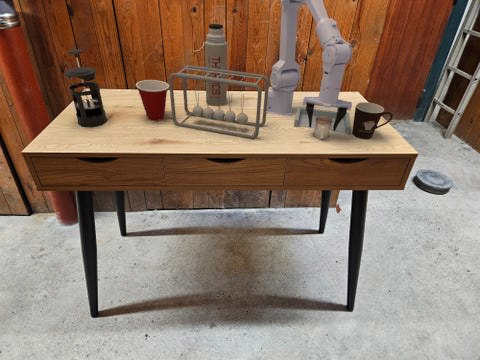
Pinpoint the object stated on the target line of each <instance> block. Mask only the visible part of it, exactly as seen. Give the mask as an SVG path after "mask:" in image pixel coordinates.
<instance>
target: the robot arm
mask: <svg viewBox="0 0 480 360" xmlns="http://www.w3.org/2000/svg"><path fill="white" fill-rule="evenodd" d="M304 4H305V5H306V6H307V8H308V10H309V13H310V14H311V15H312V17H313V19H314V21H315V23H316V27H315V33H316V36H317V39H318V41H319V43H320V46H321V48H322V50H323V51H322V52H321V60H322V71H323V72H322V77H321V82H320V83H321V84H320V88H319V93H318V94H319V95H318V96H303V101H302V105H303V106H305V108H306V111H307V114H308V118H309V127H311V125H312V116H313V111H314V109H315V106H318V107H324V108H334V109H337V110H336V112H337V115H336V119H335V122H334V126H333V131H332V132H336V131H335V130H336V128H337V126H338V124H339V122H340V121H341V120H342V118H343V117H344V116H345V115H346V113H347V112H348V111H352V107H353V102H352V101H347V100H343V99H339V95H340V91H341V86H342V84H343V83H342V82H343V78H344V73H345V69H346V64H348V63H350V61H351V60H352V58H353V54H354V51H353V47H352V44H351V43H350V42H347V41H346V39H344V38H343V36H342V35H341V32H340V30H339V28H338V24H337V23H338V22H337V21H336V20H335V19H333V18H329V16H328V12H327V10H326V7H325V4H324V1H323V0H280V5H281V12H280V13H281V14H280V15H281V17H280V40H279V60H278V61H276V62H275V63H274V64H273V65H272V67H271V73H270V77H269V84H270V85H271V86H269V90H268V101H267V112H266V114H272V115H278V116H279V115H280V116H286V117H291V116H292V114H293V110H294V107H293V101H294V100H293V99H294V93H295V90H296V89H297V86H299V85H300V83H301V79H302V76H301V71H300V70H301V65H299V63H298V62H297V61H296V47H297V34H298V33H297V32H298V19H299V18H298V16H299V10H300V8H301V7H302V6H303V5H304Z"/></svg>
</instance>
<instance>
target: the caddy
mask: <svg viewBox="0 0 480 360" xmlns="http://www.w3.org/2000/svg"><path fill="white" fill-rule="evenodd" d="M336 115H337V111H336V110H335V111H333V110H325V109H317V108H314V111H313V116H312V125H311V127H309V118H308V114H307V111H306V107H303V106H297V108H296V113H295V118H294V122H293V127H294V128H298V127H301V128H307V129H308V128H309V129H314V130H315V125H316V117H318V116H328V117H330V118H332V120H333V121H332V123H331V127H330V132H336V133H344V134H345V135H346V134H347V135H349V134H350V132H351V119H350V112H348V111H347V113H346V115H345V116H344V117H343V118H342V120H341V121H340V122H339V124H338V126H337V128H336V130H335V131H333V126H334V122H335V119H336Z"/></svg>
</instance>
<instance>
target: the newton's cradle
mask: <svg viewBox="0 0 480 360" xmlns="http://www.w3.org/2000/svg"><path fill="white" fill-rule="evenodd" d="M187 70H190V71H196V72H195V73H194V74H193V73H192V74H190V73H186V71H187ZM201 72H205V73H206V72H210V77H206V76H207V75H208V74H207V75H206V74H205V75H200V73H201ZM197 73H199V74H197ZM211 73H219V74H226V75H227V76H228V75H229V76H232V77H235V76H236V77H241V78H242V77H243V78H242V79H241V80H234V79H230V78H227V79H222V76H221V78H218V77H219V76H220V75H219V76H218V77H217V78H213V77H211ZM174 78H182V89H183V92H182V93H183V103H184V106H183V107H184V111H185V113H186V114H187V116H186V117H185V118H184V119H183V120H182V121H181V122H179V121H178V120H177V116H176V104H175V95H174V82H173V79H174ZM246 78H249V79H257V81H256V82H250V81H249V82H248V81H246V80H245V79H246ZM187 79H188V80H193V86H194V87H196V84H195V80H196V81H202V82H204V85H205V87H206V81H208V82H215V83H222V84H227V91H230V87H229V86H231V90H234V89H233V86H239V89H240V91H242V87H243V89H245V88H251V89H256V90H257V103H256V116H255V117H256V119H255V122H251V121H249V116H248V114H247V113H244V110H243V104H244V103H245V102H244V101H245V95H242V97H243V98H240V105H241V106H240V107H241V109H240V110H241V112H239V113H238V114H237V115H236V113H235V112H234V111H232V107H231V103H232V101H233V99H232V98H233V95H231V97H230V99H228V101H229V102H228V104H229V105H228V107H229V110H228V111H226V112H225V111H224V110H223V109H221V106H219V102H218V106H217V107H218V109H215V110H214V109H213V108H212V107H210V106H209V104H208V100H207V102H206V105H207V107H206V108H203V106H201V105H199V104H200V102H199V101H200V93H198V95H197V96H198V98H197V96H195V100H196V102H197V104H196V106H194V107H193V108H192V111H190V110H189V108H188V93H187V92H188V91H187ZM243 79H244V81H242V80H243ZM261 79H262V80H263V81H264V83H265V86H264V97H263V98H264V99H263V109H262V110H261V107H262V96H263V94H262V93H263V92H262V91H263V90H262V88H261V87H260V85H258V83H259V82H260V81H261ZM168 84H169V95H170V104H171V105H170V106H171V116H172V117H171V118H172V122H173V123H174V124H175V125H176V126H178V127H184V128H188V129H194V130H200V131H206V132H211V133H217V134H223V135H227V136H232V137H239V138H243V139H250V140H255V139H256V138H258V136H259V133H260V128H261V127H263V126H265V125H266V122H267V113H266V112H267V101H268V90H269V87H270V79H269V78H268V76H266V75H264V74H259V73H251V72H243V71H237V70H236V71H235V70H230V69H229V70H228V69H227V70H222V69H214V68H207V67H204V66H199V65H198V66H197V65H189V64H186V65H184V66H183V67H182V69H181V70H180V71H178V72H173V73H171V74H170V75H169V77H168ZM194 93H195V94H197V91H196V89H194ZM205 94H206V95H205V97H206V96H207V91H206V90H205ZM217 96H218V90H217ZM220 99H221V91H220ZM209 100H210V90H209ZM230 100H231V101H230ZM261 111H262V121H261ZM190 116H193V117H196V118H204V119H208V120H209V119H210V120H216V121H222V122H227V123H233V124H238V125H245V126H251V127H255V129H254V131H253V132H252V134H251V135H250V134H246V133H240V132H233V131H228V130H223V129H217V128H212V127H211V128H210V127H206V126H201V125H194V124H188V123H184V122H185V121H186V120H187V119H188V118H189V117H190Z"/></svg>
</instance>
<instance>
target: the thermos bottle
mask: <svg viewBox="0 0 480 360" xmlns="http://www.w3.org/2000/svg"><path fill="white" fill-rule="evenodd" d="M208 28H209V29H208V34H206V41H205V42H204V59H205V60H204V61H205V63H204V64H205V65H204V66H205V67H207V68H214V69H222V70H228V42H227V41H226V35H225V34H224V30H223V28H224V25H223V24H220V23H211V24H208ZM207 74H208V75H207ZM206 75H207V76H206ZM219 75H220V76H219ZM205 76H206V77H210V72H205ZM218 76H219V77H218ZM221 76H222V79H228V75H226V74H219V73H211V77H213V78H217V77H218V78H221ZM205 82H206V86H205V92H206V91H207V96H206V95H205V98H206V99H205V100H206V103H207V100H208V106H212V107H218V102H219V107H221V106H225V105H226V104H227V103H228V102H227V100H228V99H227V96H228V84H222V83H215V82H208V81H205ZM209 90H210V100H209ZM217 90H218V96H217ZM220 91H221V99H220Z"/></svg>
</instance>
